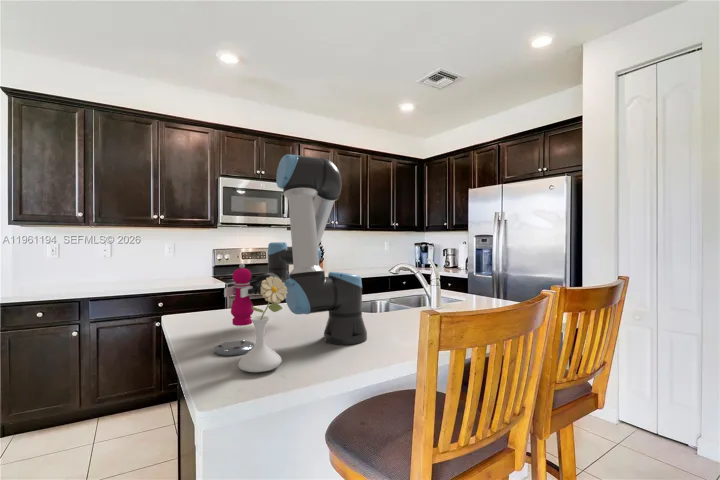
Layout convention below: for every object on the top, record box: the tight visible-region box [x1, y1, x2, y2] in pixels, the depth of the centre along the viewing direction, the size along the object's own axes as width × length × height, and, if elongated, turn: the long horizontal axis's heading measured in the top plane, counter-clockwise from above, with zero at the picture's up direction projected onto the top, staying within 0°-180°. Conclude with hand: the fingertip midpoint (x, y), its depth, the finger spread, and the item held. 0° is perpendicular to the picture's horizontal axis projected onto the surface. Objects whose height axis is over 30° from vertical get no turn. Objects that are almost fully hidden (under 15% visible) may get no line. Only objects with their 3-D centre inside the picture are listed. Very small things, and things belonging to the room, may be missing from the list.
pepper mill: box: [230, 263, 254, 327], centre depth 118 cm, size 7×7×20 cm
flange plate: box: [213, 339, 255, 357], centre depth 113 cm, size 12×12×2 cm
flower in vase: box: [237, 276, 287, 373], centre depth 97 cm, size 13×11×25 cm
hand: (233, 292), depth 113 cm, fingers closed on pepper mill, 5 cm apart
